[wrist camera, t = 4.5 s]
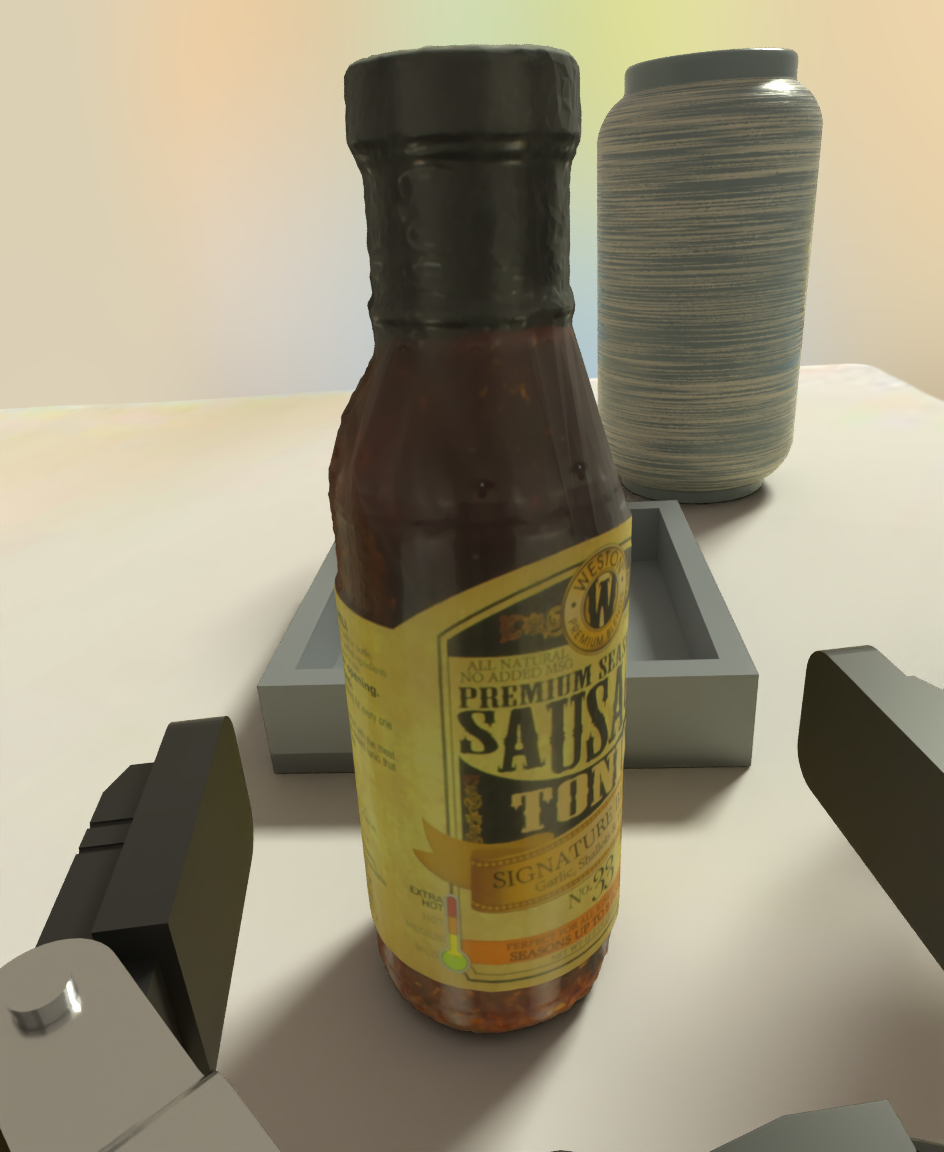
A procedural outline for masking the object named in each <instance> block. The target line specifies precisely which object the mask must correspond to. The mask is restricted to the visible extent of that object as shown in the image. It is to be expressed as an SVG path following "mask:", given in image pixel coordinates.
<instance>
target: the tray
mask: <svg viewBox="0 0 944 1152" xmlns="http://www.w3.org/2000/svg"><path fill="white" fill-rule="evenodd" d="M627 505H628V507H629V509H630V511H631V513H632V530H631V544H632V548H631V568H630V594H629V617H628V641H627V665H626V700H625V711H626V724H625V752H624V761H623V768H655V767H722V766H751V757H752V745H753V734H754V723H755V712H756V700H757V689H758V678H759V674H758V672H757V670H756V668H755V665H754V663H753V661H752V659H751V657H750V655H749V653H748V650H747V648H746V646H745V644H744V642H743V640H742V638H741V635H740V633H739V631H738V629H737V627H736V625H735V623H734V620H733V618H732V616H731V614H730V612H729V610H728V608H727V605H726V603H725V601H724V599H723V597H722V595H721V593H720V590H719V588H718V586H717V584H716V582H715V580H714V578H713V575H712V573H711V571H710V569H709V567H708V565H707V563H706V561H705V558H704V556H703V554H702V552H701V550H700V548H699V546H698V543H697V541H696V539H695V537H694V535H693V533H692V531H691V528H690V526H689V524H688V522H687V520H686V518H685V516H684V513H683V511H682V509H681V507H680V505H679V503H678V501H677V500H666V501H640V502H627ZM335 546H336V543H335V541H334V543H333V545H332V547H331V549H330V551H329V553H328V555H327V556H326V558H325V560H324V562H323V564H322V566H321V568H320V570H319V571H318V573H317V575H316V577H315V579H314V581H313V583H312V585H311V586H310V588H309V590H308V592H307V594H306V596H305V598H304V599H303V601H302V603H301V605H300V607H299V609H298V611H297V613H296V614H295V616H294V618H293V620H292V622H291V624H290V626H289V628H288V629H287V631H286V633H285V635H284V637H283V639H282V641H281V642H280V644H279V646H278V648H277V650H276V652H275V654H274V656H273V657H272V659H271V661H270V663H269V665H268V667H267V669H266V671H265V672H264V674H263V676H262V678H261V680H260V682H259V684H258V686H257V688H258V693H259V698H260V703H261V708H262V713H263V719H264V724H265V729H266V734H267V739H268V744H269V749H270V754H271V759H272V764H273V769H274V773H319V772H355V768H354V759H353V749H352V739H351V730H350V721H349V713H348V704H347V695H346V686H345V677H344V668H343V658H342V650H341V641H340V632H339V623H338V615H337V606H336V598H335V590H334V584H335V577H336V574H337V572H338V568H337V556H336V550H335Z"/></svg>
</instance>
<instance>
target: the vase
mask: <svg viewBox="0 0 944 1152" xmlns="http://www.w3.org/2000/svg"><path fill="white" fill-rule="evenodd" d="M797 68H798V55H797V53H796V52H795V51H793V50H790V49H784V48H746V49H731V50H718V51H708V52H699V53H691V54H684V55H677V56H670V57H665V58H659V59H654V60H649V61H645V62H641V63H638V64H635V65H633V66H630V67H629V68H628V69H627V71H626V73H625V94H624V97H623V98H622V99H621V100H620V101H619V102H618V103H617V104H615V105H614V107H613V108H612V109H611V110H610V111H609V113H608V114H607V116H606V118H605V119H604V122H603V124H602V126H601V129H600V132H599V135H598V141H597V207H598V208H597V216H598V217H597V219H598V220H597V221H598V222H597V227H598V228H597V234H598V237H597V241H598V242H597V243H598V244H597V245H598V246H597V247H598V411H599V414H600V417H601V420H602V424H603V427H604V430H605V434H606V437H607V440H608V443H609V447H610V450H611V453H612V456H613V460H614V463H615V466H616V469H617V473H618V474H619V475H620V476H621V480H622V483H623V485H624V486H625V487H626V488H627V489H628V490H630V491H631V492H633V493H635V494H638V495H640V496H643V497H646V498H650V499H654V500H659V501H666V500H677V501H678V503H692V504H698V503H715V502H723V501H729V500H734V499H738V498H742V497H745V496H747V495H750V494H752V493H753V492H755V491H757V490H758V489H759V488H760V487H761V486H762V483H763V480H764V478H765V477H767V476H768V475H770V474H771V473H772V472H773V471H774V470H776V469H777V468H778V467H779V466H780V464H781V463H782V462H783V461H784V459H785V458H786V457H787V454H788V452H789V450H790V448H791V444H792V441H793V431H794V420H795V410H796V399H797V389H798V378H799V368H800V357H801V347H802V336H803V325H804V315H805V305H806V294H807V283H808V273H809V263H810V252H811V241H812V231H813V221H814V210H815V200H816V189H817V178H818V168H819V158H820V147H821V137H822V126H823V122H822V114H821V110H820V107H819V105H818V103H817V101H816V99H815V97H814V96H813V94H812V93H811V92H810V91H809V90H808V89H807V88H806V87H804V86H803V85H802V84H800V83H799V82H798V81H797Z"/></svg>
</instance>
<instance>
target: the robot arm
mask: <svg viewBox="0 0 944 1152" xmlns="http://www.w3.org/2000/svg"><path fill="white" fill-rule="evenodd" d="M798 758H799V764H800V768H801V771H802V774H803V777H804V779H805V781H806V783H807V785H808V787H809V788H810V790H811V791H812V793H813V794H814V795H815V797H816V798H817V799H818V801H819V802H820V803H821V805H822V806H823V808H824V809H825V810H826V812H827V813H828V814H829V816H830V817H831V818H832V820H833V821H834V822H835V824H836V825H837V827H838V828H839V829H840V831H841V832H842V833H843V835H844V836H845V837H846V839H847V840H848V841H849V843H850V844H851V846H852V847H853V848H854V850H855V851H856V852H857V854H858V855H859V856H860V858H861V859H862V860H863V862H864V863H865V865H866V866H867V867H868V869H869V870H870V871H871V873H872V874H873V875H874V877H875V878H876V879H877V881H878V882H879V884H880V885H881V886H882V888H883V889H884V890H885V892H886V893H887V894H888V896H889V897H890V898H891V900H892V901H893V903H894V904H895V905H896V907H897V908H898V909H899V911H900V912H901V913H902V915H903V916H904V917H905V919H906V920H907V922H908V923H909V924H910V926H911V927H912V928H913V930H914V931H915V932H916V934H917V935H918V936H919V938H920V939H921V941H922V942H923V943H924V945H925V946H926V947H927V949H928V950H929V951H930V953H931V954H932V955H933V957H934V958H935V960H936V961H937V962H938V964H939V965H940V966H941V968H942V969H943V970H944V691H943V690H941V689H939V688H937V687H935V686H933V685H931V684H929V683H927V682H925V681H923V680H921V679H919V678H917V677H915V676H906V675H905V674H904V673H902V672H901V671H900V670H899V669H898V668H897V667H896V666H895V665H894V664H893V663H891V662H890V661H889V660H888V659H887V658H886V657H885V656H884V655H883V654H881V653H880V652H879V651H878V650H877V649H876V648H874V647H872V646H868V645H865V646H856V647H847V648H839V649H830V650H821V651H815V652H814V653H813V654H812V655H811V656H810V658H809V660H808V664H807V669H806V677H805V685H804V694H803V702H802V710H801V719H800V727H799V735H798ZM252 854H253V821H252V812H251V806H250V802H249V797H248V792H247V788H246V783H245V778H244V774H243V769H242V764H241V760H240V755H239V750H238V746H237V741H236V736H235V732H234V728H233V724H232V722H231V720H230V718H229V717H228V716H223V717H214V718H205V719H196V720H187V721H178V722H171V723H170V724H169V725H168V727H167V729H166V732H165V734H164V737H163V740H162V743H161V745H160V748H159V751H158V753H157V756H156V759H155V761H154V762H153V763H144V764H135V765H130V766H129V767H128V768H127V769H126V770H125V771H124V772H123V773H122V774H121V775H120V776H119V777H118V778H117V779H116V780H115V781H114V782H113V783H112V784H111V785H110V786H109V787H108V788H107V789H106V790H105V791H104V792H103V794H102V796H101V798H100V801H99V803H98V805H97V807H96V810H95V812H94V814H93V817H92V819H91V821H90V829H87V830H86V833H85V835H84V837H83V840H82V842H81V844H80V846H79V854H76V856H75V858H74V860H73V862H72V865H71V867H70V869H69V872H68V874H67V876H66V878H65V881H64V883H63V885H62V888H61V890H60V892H59V895H58V897H57V899H56V901H55V904H54V906H53V908H52V911H51V913H50V915H49V917H48V920H47V922H46V924H45V927H44V929H43V931H42V933H41V936H40V938H39V940H38V943H37V945H36V947H35V948H34V949H31V950H29V951H27V952H25V953H23V954H22V955H20V956H18V957H16V958H15V959H13V960H12V961H10V962H8V963H7V964H6V965H4V966H3V967H2V968H0V1152H280V1150H279V1149H278V1148H277V1146H276V1145H275V1144H274V1142H273V1141H272V1139H271V1138H270V1137H269V1135H268V1134H267V1133H266V1131H265V1130H264V1129H263V1127H262V1126H261V1125H260V1123H259V1122H258V1121H257V1119H256V1118H255V1117H254V1115H253V1114H252V1113H251V1111H250V1110H249V1109H248V1107H247V1106H246V1105H245V1103H244V1102H243V1101H242V1099H241V1098H240V1097H239V1095H238V1094H237V1093H236V1091H235V1090H234V1089H233V1087H232V1086H231V1085H230V1084H229V1082H228V1081H227V1080H226V1079H225V1078H224V1077H223V1076H222V1075H221V1074H220V1073H219V1072H217V1071H215V1070H216V1065H217V1059H218V1053H219V1047H220V1041H221V1035H222V1030H223V1024H224V1018H225V1012H226V1006H227V1000H228V995H229V989H230V983H231V977H232V971H233V965H234V960H235V954H236V948H237V942H238V936H239V931H240V925H241V919H242V913H243V907H244V901H245V896H246V890H247V884H248V878H249V872H250V866H251V861H252ZM553 1152H571V1151H562V1150H559V1151H553ZM710 1152H944V1145H942V1144H937V1143H933V1142H929V1141H924V1140H920V1139H912V1138H909V1136H908V1134H907V1132H906V1131H905V1129H904V1127H903V1125H902V1124H901V1122H900V1120H899V1118H898V1117H897V1115H896V1113H895V1111H894V1110H893V1108H892V1106H891V1104H890V1103H889V1101H888V1100H881V1101H875V1102H868V1103H862V1104H855V1105H849V1106H843V1107H836V1108H830V1109H823V1110H817V1111H810V1112H804V1113H798V1114H791V1115H785V1116H782V1117H780V1118H778V1119H776V1120H774V1121H771V1122H769V1123H767V1124H765V1125H763V1126H761V1127H759V1128H757V1129H755V1130H753V1131H751V1132H749V1133H747V1134H745V1135H743V1136H741V1137H739V1138H737V1139H735V1140H733V1141H731V1142H729V1143H726V1144H724V1145H722V1146H720V1147H718V1148H716V1149H714V1150H712V1151H710Z"/></svg>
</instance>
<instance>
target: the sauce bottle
mask: <svg viewBox="0 0 944 1152" xmlns="http://www.w3.org/2000/svg"><path fill="white" fill-rule="evenodd" d="M344 99H345V104H346V115H345V121H346V139H347V144H348V146H349V148H350V150H351V152H352V155H353V157H354V158H355V161H356V163H357V166H358V168H359V170H360V172H361V174H362V178H363V185H364V199H365V213H366V219H367V249H368V253H369V257H370V269H371V271H370V282H371V287H372V296H371V298H370V300H369V302H368V305H367V306H368V310H369V316H370V319H371V322H372V329H373V333H374V341H375V348H374V354H373V356H372V359H371V360H370V362H369V365H368V367H367V368H366V371H365V374H364V375H363V377H362V378H361V379H360V381H359V384H358V386H357V388H356V390H355V391H354V392H353V394H352V396H351V398H350V401H349V403H348V405H347V406H346V408H345V410H344V412H343V414H342V416H341V425H340V428H339V429H338V433H337V437H336V441H335V446H334V450H333V454H332V459H331V463H330V466H329V493H328V496H329V500H330V508H331V513H332V521H333V531H334V534H335V543H336V546H335V550H336V556H337V568H338V572H337V574H336V577H335V584H334V590H335V598H336V606H337V615H338V623H339V632H340V641H341V650H342V658H343V668H344V677H345V686H346V695H347V704H348V713H349V721H350V730H351V739H352V749H353V759H354V768H355V778H356V788H357V798H358V807H359V815H360V824H361V833H362V842H363V851H364V860H365V868H366V878H367V887H368V894H369V902H370V909H371V914H372V918H373V921H374V924H375V927H376V929H377V938H378V946H379V952H380V955H381V957H382V959H383V961H384V963H385V966H386V969H387V970H388V972H389V975H390V978H391V979H392V980H393V982H394V984H395V986H396V988H397V990H398V991H399V992H400V993H401V995H402V997H403V998H404V999H405V1000H408V1001H409V1002H410V1003H411V1004H412V1005H413V1006H414V1008H415V1009H416V1010H418V1011H420V1012H421V1013H423V1014H425V1015H426V1016H428V1017H430V1018H432V1019H433V1020H435V1021H437V1022H439V1023H441V1024H444V1025H446V1026H448V1027H450V1028H453V1029H456V1030H461V1031H473V1032H475V1033H481V1032H483V1033H503V1032H509V1031H513V1030H517V1029H521V1028H524V1027H528V1026H535V1025H536V1024H538V1023H542V1022H545V1021H547V1020H549V1019H551V1018H553V1017H555V1016H556V1015H558V1014H560V1013H564V1012H567V1011H568V1010H570V1009H571V1007H572V1006H573V1004H574V1003H575V1001H577V1000H580V999H582V998H583V997H584V996H585V995H586V994H588V993H589V992H590V990H591V988H592V985H593V983H594V981H595V980H596V979H597V976H598V974H599V971H600V969H601V966H602V962H603V959H604V956H605V955H606V954H607V952H608V942H609V937H610V933H611V930H612V928H613V925H614V923H615V920H616V917H617V914H618V907H619V892H620V860H621V832H622V797H623V761H624V752H625V724H626V711H625V700H626V665H627V641H628V617H629V594H630V568H631V548H632V544H631V530H632V513H631V511H630V509H629V507H628V505H627V502H626V499H625V495H624V492H623V489H622V486H621V482H620V479H619V476H618V473H617V469H616V466H615V463H614V460H613V456H612V453H611V450H610V447H609V443H608V440H607V437H606V434H605V430H604V427H603V424H602V420H601V417H600V414H599V411H598V407H597V404H596V401H595V398H594V394H593V391H592V388H591V384H590V381H589V378H588V375H587V372H586V369H585V365H584V362H583V359H582V355H581V352H580V349H579V346H578V343H577V339H576V337H575V333H574V330H573V327H572V318H573V314H574V311H575V301H574V296H573V292H572V289H571V287H570V284H569V276H570V265H569V253H570V210H569V205H570V188H569V184H570V172H571V165H572V160H573V158H574V157H575V154H576V149H577V147H578V145H579V142H580V137H581V104H580V73H579V66H578V65H577V62H576V60H575V59H574V58H573V56H572V55H571V54H570V53H569V52H567V51H565V50H562V49H557V48H553V47H549V46H540V45H531V44H526V45H525V44H524V45H510V44H509V45H449V46H425V47H422V48H419V49H410V50H398V51H393V52H388V53H383V54H379V55H371V56H370V57H368V58H363V59H360V60H358V61H356V62H354V63H353V64H351V65H350V66H349V67H348V69H347V71H346V74H345V76H344Z"/></svg>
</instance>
